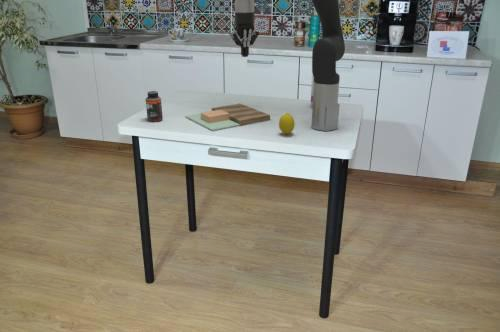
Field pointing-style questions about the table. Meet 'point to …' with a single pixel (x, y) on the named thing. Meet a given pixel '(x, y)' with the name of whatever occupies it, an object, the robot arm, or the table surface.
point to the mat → (212, 126)
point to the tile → (215, 116)
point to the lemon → (286, 123)
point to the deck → (243, 114)
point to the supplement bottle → (154, 107)
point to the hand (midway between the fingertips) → (244, 56)
